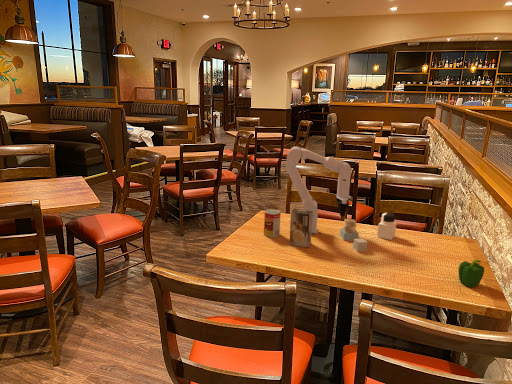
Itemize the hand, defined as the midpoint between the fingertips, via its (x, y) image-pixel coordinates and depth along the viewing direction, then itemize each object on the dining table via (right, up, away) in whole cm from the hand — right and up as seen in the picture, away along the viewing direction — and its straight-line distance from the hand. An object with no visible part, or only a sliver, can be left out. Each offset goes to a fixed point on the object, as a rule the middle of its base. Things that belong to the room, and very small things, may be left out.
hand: (341, 213), depth 187 cm
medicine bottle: (+22, -12, 0) cm, 25 cm away
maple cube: (+3, -8, -4) cm, 10 cm away
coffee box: (-22, -14, -13) cm, 29 cm away
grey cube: (+4, -15, -17) cm, 24 cm away
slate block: (+3, -12, -3) cm, 13 cm away
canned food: (-35, -10, -2) cm, 37 cm away
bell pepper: (+37, -24, -47) cm, 64 cm away
